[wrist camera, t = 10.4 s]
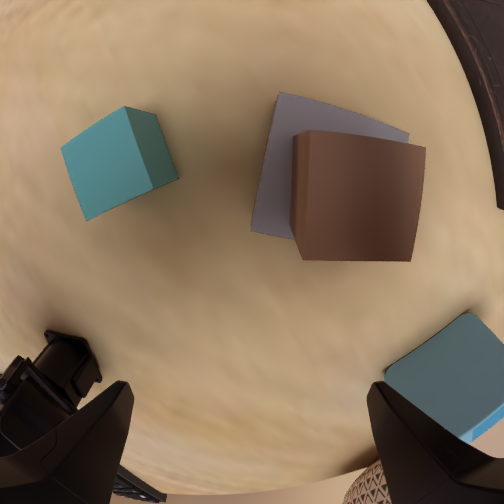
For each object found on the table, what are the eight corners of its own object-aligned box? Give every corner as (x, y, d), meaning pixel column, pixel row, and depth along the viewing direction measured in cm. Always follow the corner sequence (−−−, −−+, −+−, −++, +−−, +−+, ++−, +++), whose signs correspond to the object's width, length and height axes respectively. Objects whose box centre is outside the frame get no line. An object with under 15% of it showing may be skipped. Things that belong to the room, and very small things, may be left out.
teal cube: (121, 203, 19) (86, 221, 14) (100, 145, 17) (60, 147, 13) (178, 178, 18) (153, 188, 14) (156, 115, 17) (124, 106, 12)
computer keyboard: (167, 494, 44) (164, 506, 40) (119, 485, 46) (116, 496, 42) (33, 374, 29) (21, 389, 25) (-2, 371, 31) (-11, 383, 27)
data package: (390, 389, 26) (424, 471, 14) (379, 371, 24) (418, 463, 13) (472, 331, 23) (525, 397, 12) (468, 306, 22) (532, 376, 10)
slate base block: (252, 215, 19) (250, 231, 16) (274, 103, 16) (279, 91, 13) (356, 237, 20) (376, 257, 16) (382, 135, 17) (409, 133, 13)
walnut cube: (289, 225, 15) (302, 260, 11) (292, 136, 14) (310, 129, 9) (370, 228, 15) (410, 261, 11) (378, 145, 14) (425, 147, 9)
